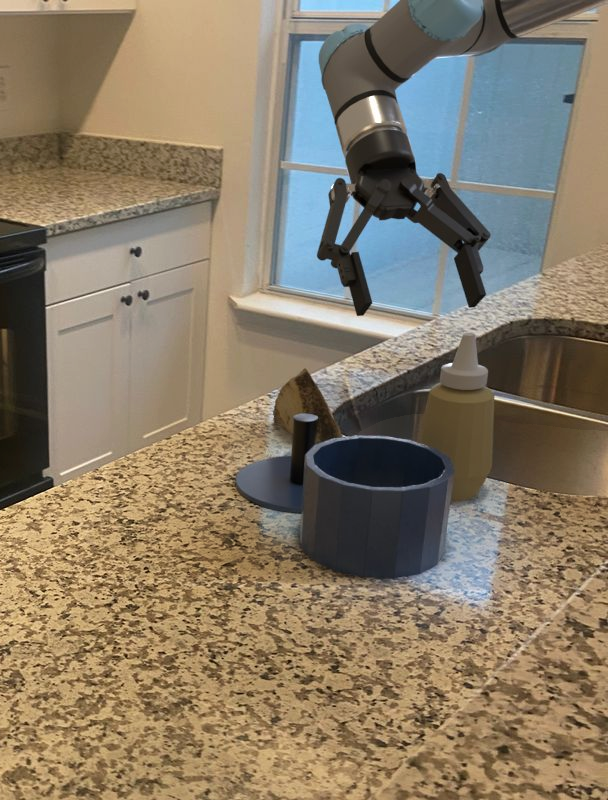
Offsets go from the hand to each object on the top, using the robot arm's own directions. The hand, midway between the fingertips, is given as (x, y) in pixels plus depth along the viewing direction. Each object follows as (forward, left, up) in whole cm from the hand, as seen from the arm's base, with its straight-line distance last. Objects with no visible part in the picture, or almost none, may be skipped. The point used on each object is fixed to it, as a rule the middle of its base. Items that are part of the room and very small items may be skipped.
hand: (421, 305), depth 114 cm
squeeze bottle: (-3, +10, -19) cm, 21 cm away
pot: (+7, +24, -19) cm, 31 cm away
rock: (+11, -7, -19) cm, 23 cm away
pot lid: (+13, +10, -18) cm, 24 cm away
